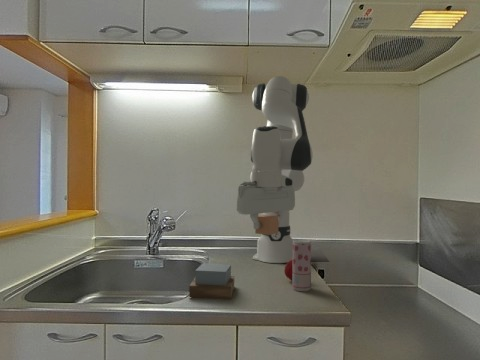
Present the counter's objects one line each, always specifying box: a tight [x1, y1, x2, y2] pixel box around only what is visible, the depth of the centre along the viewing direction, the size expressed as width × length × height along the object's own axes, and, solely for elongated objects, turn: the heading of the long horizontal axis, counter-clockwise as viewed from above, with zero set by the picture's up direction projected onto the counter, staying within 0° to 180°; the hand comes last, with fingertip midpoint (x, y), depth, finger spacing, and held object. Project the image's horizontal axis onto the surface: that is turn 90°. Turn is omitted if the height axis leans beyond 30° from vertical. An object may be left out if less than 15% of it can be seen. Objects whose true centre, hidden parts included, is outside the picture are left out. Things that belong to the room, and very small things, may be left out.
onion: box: [283, 258, 293, 282], centre depth 130 cm, size 6×6×8 cm
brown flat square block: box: [188, 275, 235, 300], centre depth 118 cm, size 12×12×4 cm
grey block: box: [194, 262, 232, 286], centre depth 118 cm, size 9×9×4 cm
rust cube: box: [254, 214, 278, 235], centre depth 117 cm, size 5×5×5 cm
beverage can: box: [291, 238, 312, 292], centre depth 122 cm, size 6×6×15 cm
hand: (266, 227), depth 117 cm, fingers closed on rust cube, 6 cm apart
